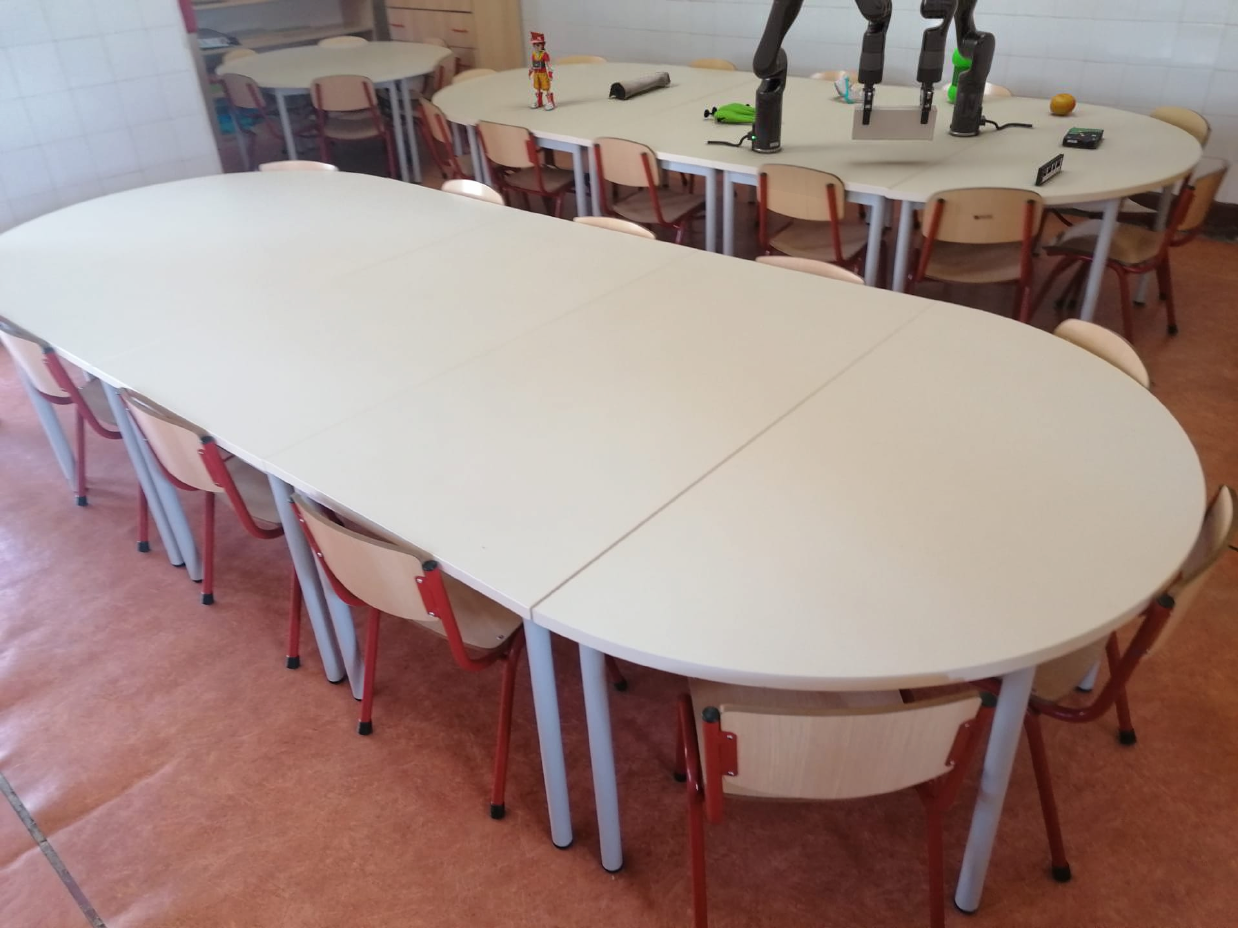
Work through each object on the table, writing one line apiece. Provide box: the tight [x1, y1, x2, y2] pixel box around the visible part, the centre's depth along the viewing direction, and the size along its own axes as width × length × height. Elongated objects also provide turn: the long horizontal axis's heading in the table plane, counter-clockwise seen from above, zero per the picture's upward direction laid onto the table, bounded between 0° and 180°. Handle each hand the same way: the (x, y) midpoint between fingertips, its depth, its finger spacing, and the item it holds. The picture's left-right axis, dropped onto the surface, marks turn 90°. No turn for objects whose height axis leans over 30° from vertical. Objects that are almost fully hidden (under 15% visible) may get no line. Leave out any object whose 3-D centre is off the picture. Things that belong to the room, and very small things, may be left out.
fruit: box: [1049, 93, 1077, 116], centre depth 330 cm, size 8×8×8 cm
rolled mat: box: [608, 71, 672, 101], centre depth 395 cm, size 30×9×10 cm
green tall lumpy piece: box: [947, 47, 972, 104], centre depth 347 cm, size 10×10×25 cm
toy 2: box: [703, 102, 755, 124], centre depth 348 cm, size 28×5×30 cm
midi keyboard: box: [1035, 153, 1065, 186], centre depth 273 cm, size 18×1×5 cm, turn 138°
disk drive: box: [1062, 127, 1105, 149], centre depth 302 cm, size 10×3×15 cm
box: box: [851, 104, 938, 142], centre depth 288 cm, size 25×6×9 cm, turn 78°
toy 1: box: [527, 31, 556, 111], centre depth 374 cm, size 12×9×30 cm
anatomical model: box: [833, 74, 863, 104], centre depth 365 cm, size 15×10×10 cm
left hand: (865, 121), depth 290 cm, fingers closed on box, 6 cm apart
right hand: (923, 121), depth 286 cm, fingers closed on box, 6 cm apart
